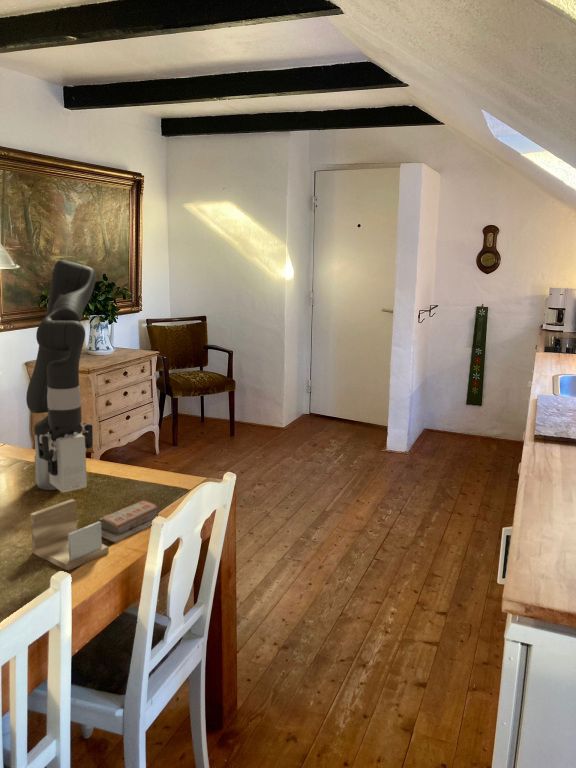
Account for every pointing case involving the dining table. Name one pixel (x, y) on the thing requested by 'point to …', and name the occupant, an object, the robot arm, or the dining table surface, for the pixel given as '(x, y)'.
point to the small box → (70, 463)
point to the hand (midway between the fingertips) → (67, 470)
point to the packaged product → (128, 520)
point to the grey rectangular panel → (84, 541)
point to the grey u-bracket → (58, 535)
